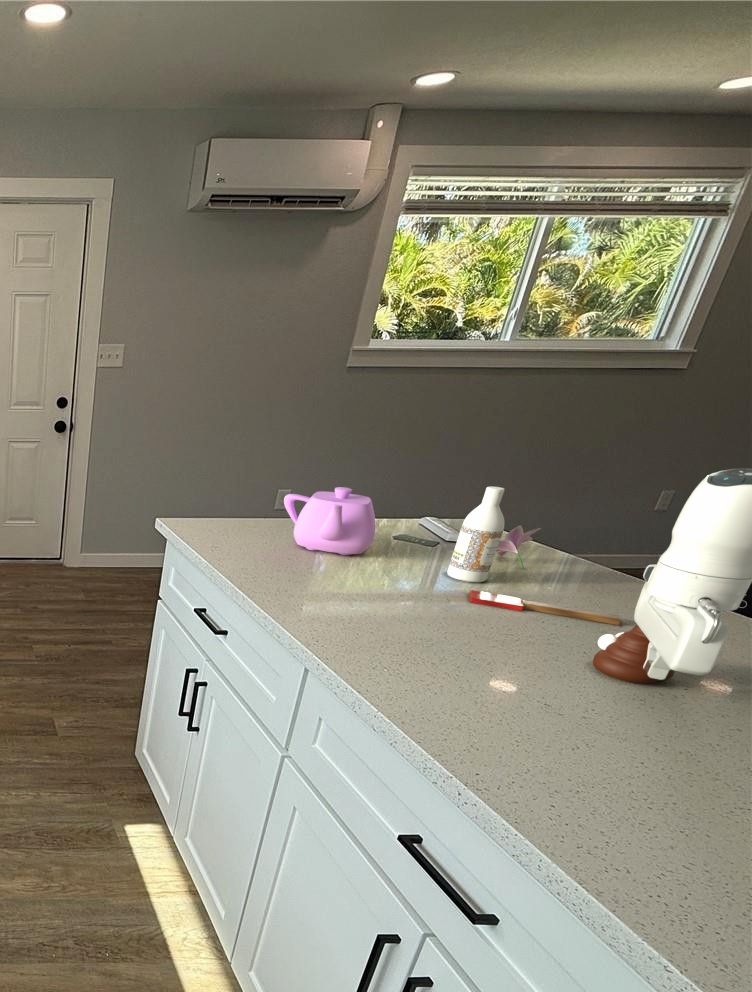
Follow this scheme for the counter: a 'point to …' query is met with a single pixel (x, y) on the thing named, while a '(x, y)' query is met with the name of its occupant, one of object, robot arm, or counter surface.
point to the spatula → (539, 607)
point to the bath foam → (478, 539)
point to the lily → (514, 541)
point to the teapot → (333, 521)
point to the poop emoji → (625, 656)
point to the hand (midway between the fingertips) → (652, 674)
